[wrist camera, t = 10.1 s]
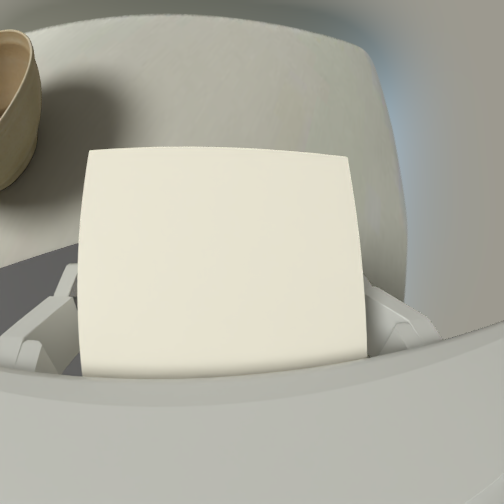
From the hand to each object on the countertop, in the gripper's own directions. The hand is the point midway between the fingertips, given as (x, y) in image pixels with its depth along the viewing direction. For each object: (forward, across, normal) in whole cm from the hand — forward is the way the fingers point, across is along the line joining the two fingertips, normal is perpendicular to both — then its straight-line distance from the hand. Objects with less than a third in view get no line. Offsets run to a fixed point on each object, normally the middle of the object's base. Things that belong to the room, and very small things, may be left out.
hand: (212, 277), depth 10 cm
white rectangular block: (+3, 0, +4) cm, 4 cm away
